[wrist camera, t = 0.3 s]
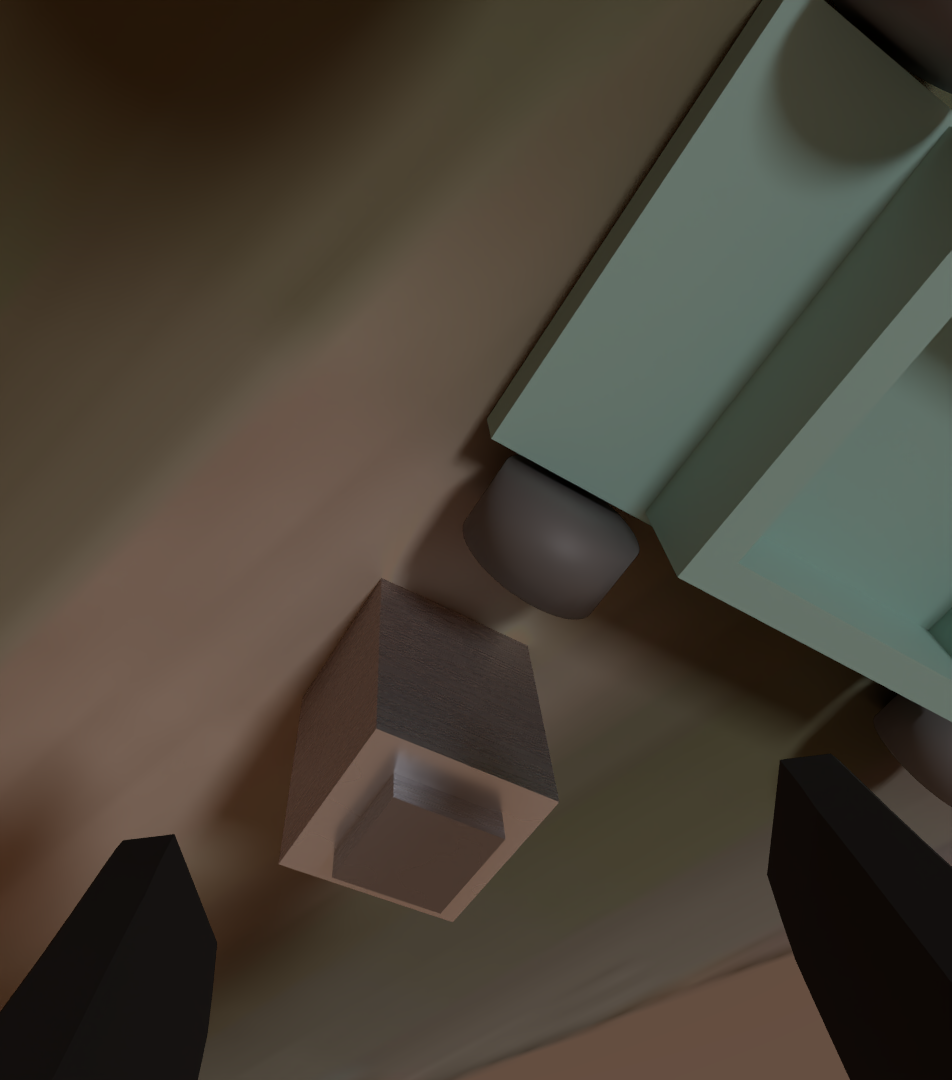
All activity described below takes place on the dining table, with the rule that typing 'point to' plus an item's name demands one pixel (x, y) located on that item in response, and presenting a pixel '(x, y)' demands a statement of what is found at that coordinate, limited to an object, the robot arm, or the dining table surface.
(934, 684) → the chassis
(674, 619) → the dining table surface
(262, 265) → the dining table surface
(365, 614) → the block
